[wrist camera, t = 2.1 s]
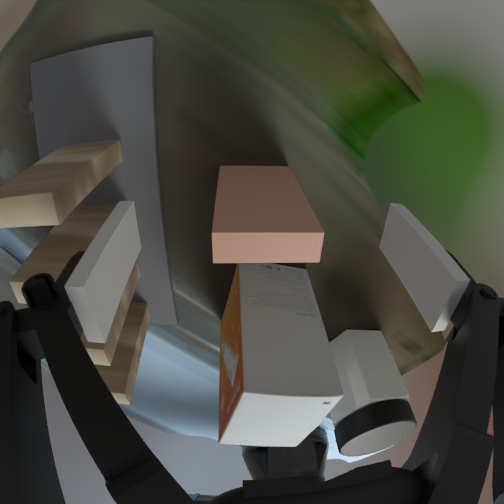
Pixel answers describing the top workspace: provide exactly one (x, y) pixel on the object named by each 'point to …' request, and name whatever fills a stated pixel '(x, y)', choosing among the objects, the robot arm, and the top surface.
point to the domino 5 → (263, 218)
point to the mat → (111, 128)
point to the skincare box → (8, 278)
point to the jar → (369, 395)
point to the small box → (273, 359)
